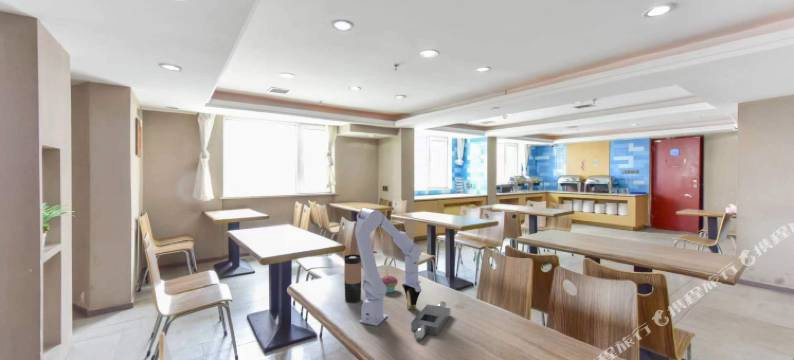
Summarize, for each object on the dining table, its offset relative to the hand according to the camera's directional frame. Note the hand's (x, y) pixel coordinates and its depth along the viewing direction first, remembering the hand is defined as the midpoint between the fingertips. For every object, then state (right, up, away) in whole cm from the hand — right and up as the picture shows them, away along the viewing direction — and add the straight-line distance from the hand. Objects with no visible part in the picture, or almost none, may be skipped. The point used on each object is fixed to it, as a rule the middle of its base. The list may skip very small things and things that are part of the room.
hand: (411, 302), depth 144 cm
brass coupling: (0, -2, 0) cm, 2 cm away
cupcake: (-10, -2, +21) cm, 24 cm away
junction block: (+7, -3, -13) cm, 15 cm away
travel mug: (-26, -2, +10) cm, 28 cm away
